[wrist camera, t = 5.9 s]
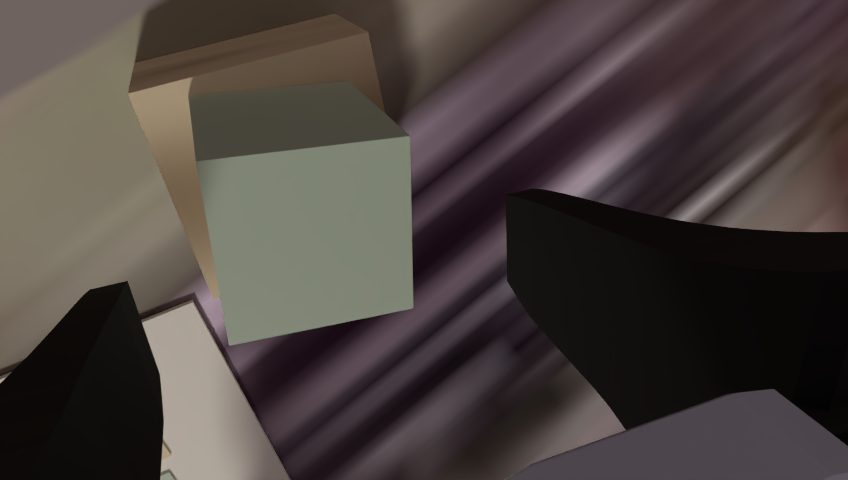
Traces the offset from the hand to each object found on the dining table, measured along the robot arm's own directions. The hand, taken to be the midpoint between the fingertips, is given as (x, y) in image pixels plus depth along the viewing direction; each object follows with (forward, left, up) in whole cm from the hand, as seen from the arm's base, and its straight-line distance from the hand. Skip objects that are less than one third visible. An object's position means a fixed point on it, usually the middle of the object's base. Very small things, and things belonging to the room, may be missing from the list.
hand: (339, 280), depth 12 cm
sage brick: (0, 0, -6) cm, 6 cm away
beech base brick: (0, 0, -10) cm, 10 cm away
